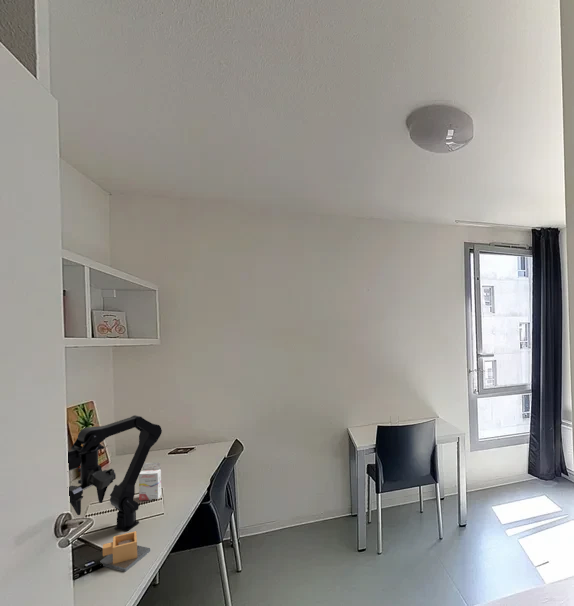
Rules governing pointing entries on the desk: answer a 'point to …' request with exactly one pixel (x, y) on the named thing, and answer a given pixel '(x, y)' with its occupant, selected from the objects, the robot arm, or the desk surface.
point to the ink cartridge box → (150, 482)
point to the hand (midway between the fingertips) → (90, 508)
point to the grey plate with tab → (128, 563)
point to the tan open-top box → (122, 547)
